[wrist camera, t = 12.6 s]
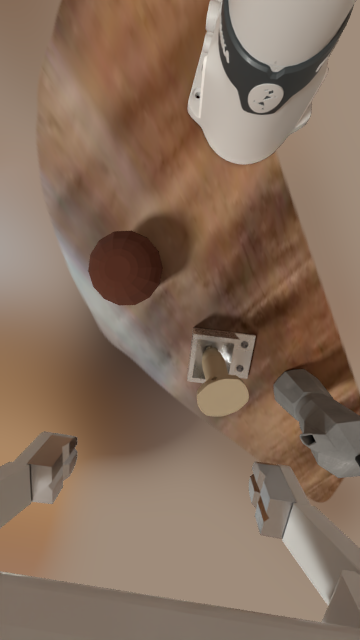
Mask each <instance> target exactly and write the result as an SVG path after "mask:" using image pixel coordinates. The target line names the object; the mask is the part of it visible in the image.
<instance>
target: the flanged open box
mask: <svg viewBox="0 0 360 640" xmlns="http://www.w3.org/2000/svg"><path fill="white" fill-rule="evenodd" d="M255 338H256V336H255V335H253V334H245V333H237V332H229V331H221V330H212V329H204V328H196V327H193V333H192V341H191V348H190V356H189V363H188V376H187V381H191V382H199V383H204V382H206V379H205V375H204V372H203V368H202V357H203V356H202V354H203V352H204V351H205V350H206V348H207V347H209V346H210V347H212V348H214V347H216V348H217V349H218V351H219V352H220V353H221V354H222V356H223V358H224V360H225V363H226V366H227V370H228V374H229V375H236V376H238V377H239V378H246V379H247V377H248V372H249V367H250V362H251V357H252V352H253V347H254V343H255Z"/></svg>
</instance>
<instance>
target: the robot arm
mask: <svg viewBox="0 0 360 640" xmlns="http://www.w3.org/2000/svg"><path fill="white" fill-rule="evenodd" d="M355 2H356V0H210V3H209V8H208V13H207V20H206V30H207V33H206V35H205V39H204V45H203V48H202V52H201V56H200V60H199V63H198V67H197V71H196V74H195V78H194V82H193V86H192V89H191V93H190V97H189V101H188V112H189V114H190V116H191V117H192V118H193V119H194V120H195V121H196V122H197V123H198V124H199V125H200V126H201V128H202V130H203V132H204V134H205V137H206V139H207V141H208V143H209V145H210V146H211V147H212V149H213V150H214V151H215V152H216V153H217V154H218V155H219V156H220V157H222V158H223V159H225V160H227V161H229V162H232V163H236V164H252V163H256V162H259V161H261V160H263V159H265V158H267V157H268V156H270V155H271V154H273V153H274V152H275V151H276V150H277V149H278V148H279V147H280V146H281V144H282V143H283V142H284V141H285V139H286V138H287V137H288V136H289V135H290V134H292V133H294V132H296V131H297V130H299V129H300V128H302V127H303V126H304V125H305V124H306V123H307V122H308V120H309V118H310V116H311V110H312V109H311V108H312V100H313V98H314V96H315V94H316V93H317V91H318V89H319V88H320V86H321V84H322V83H323V81H324V79H325V77H326V75H327V73H328V70H329V68H328V67H327V64H328V57H329V56H330V54H331V52H332V51H333V49H334V48H335V46H336V44H337V42H338V40H339V38H340V36H341V34H342V32H343V30H344V28H345V26H346V24H347V22H348V20H349V18H350V15H351V12H352V9H353V6H354V3H355ZM196 96H200V98H199V99H197V98H196ZM76 445H77V437H75V436H69V435H63V434H58V433H50V432H42V433H41V434H40V435H39V436H38V437H37V438H36V439H35V440H34V441H33V442H32V443H31V444H30V445H29V446H28V447H27V448H26V449H25V450H24V451H23V453H21V454H20V455H19V456H18V458H17V459H16V460H15V461H14V462H8V463H6V464H4V465H2V466H0V528H1V527H2V526H4V525H5V524H6V523H7V522H8V521H10V520H11V519H12V518H13V517H15V516H16V515H17V514H18V513H19V512H21V511H22V510H23V509H25V508H26V507H27V506H28V505H30V504H31V502H39V503H48V504H53V502H54V501H55V499H56V497H57V496H58V494H59V493H60V491H61V489H62V488H63V481H64V480H65V479H66V478H68V477H69V476H70V474H71V473H72V471H73V469H74V466H75V464H76V460H77V451H76V449H75V447H76ZM252 470H253V473H254V474H253V475H251V476H250V480H249V494H250V498H251V503H252V504H253V505H254V507H255V508H256V513H255V517H256V521H257V525H258V528H259V532H260V535H263V536H268V537H273V538H279V539H282V541H283V542H284V544H285V545H286V547H287V548H288V550H289V551H290V552H291V554H292V555H293V556H294V558H295V559H296V561H297V562H298V564H299V565H300V567H301V568H302V569H303V571H304V572H305V574H306V575H307V576H308V578H309V579H310V581H311V582H312V584H313V585H314V586H315V588H316V589H317V591H318V592H319V593H320V595H321V596H322V598H323V599H324V601H325V602H326V603H327V605H328V608H327V610H326V613H325V615H324V618H323V620H322V622H315V621H309V620H303V619H296V618H290V617H284V616H278V615H271V614H265V613H258V612H253V611H246V610H240V609H234V608H227V607H221V606H215V605H208V604H202V603H196V602H190V601H184V600H177V599H171V598H165V597H159V596H152V595H146V594H140V593H133V592H127V591H120V590H114V589H108V588H101V587H95V586H89V585H83V584H76V583H70V582H64V581H57V580H51V579H45V578H38V577H32V576H26V575H19V574H13V573H7V572H1V571H0V640H360V548H359V547H358V546H357V545H356V544H355V543H354V542H353V541H352V540H351V539H349V538H348V537H347V536H346V535H345V534H344V533H343V532H342V531H341V530H340V529H339V528H338V527H337V526H335V525H334V524H333V523H332V522H331V521H330V520H329V519H328V518H327V517H326V516H325V515H324V514H323V513H322V512H321V511H319V510H318V509H317V508H316V507H315V506H311V504H310V503H309V501H308V499H307V497H306V495H305V493H304V491H303V489H302V488H301V486H300V484H299V482H298V480H297V478H296V476H295V474H294V472H293V471H292V469H291V468H290V467H289V466H286V465H278V464H277V465H276V464H270V463H262V462H254V463H253V467H252Z"/></svg>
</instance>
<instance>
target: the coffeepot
mask: <svg viewBox="0 0 360 640" xmlns="http://www.w3.org/2000/svg"><path fill="white" fill-rule="evenodd" d="M274 395H275V400H276V401H277V402H278V403H279V404H280V405H281V406H282V407H283V408H284V409H285V410H286V411H287V412H288V413H289V414H290V415H292V416H293V417H294V418H295V419H296V420H297V421H299V424H300V429H301V431H302V433H303V434H300V439H301V441H302V442H303V444H304V445H306V446H307V447H309V448H310V449H311V451H312V453H313V455H314V457H315V459H316V461H317V463H318V465H320V466H321V467H323V468H324V469H326V470H327V471H329V472H330V473H332V474H333V475H335V476H336V477H338V478H343V477H353V476H360V416H359V415H357V414H356V413H354V412H353V411H351V410H350V409H348V408H346V407H345V406H343V405H342V404H340V403H338V402H337V401H335V400H334V399H333V397H332V396H331V395H330V394H329V392H328V391H327V390H326V389H325V387H324V386H323V385H322V383H321V382H320V381H319V380H318V378H316V377H315V376H313V375H312V374H310V373H309V372H307V371H306V370H305V369H296V370H290V371H286V372H284V373H283V374H282V375H281V376H280V377H279V378H278V379H277V381H276V383H275V384H274Z"/></svg>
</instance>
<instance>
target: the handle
mask: <svg viewBox="0 0 360 640" xmlns="http://www.w3.org/2000/svg"><path fill="white" fill-rule="evenodd" d="M202 356H203V357H202V368H203V372H204V375H205V379H206V382H204V383H203V384H202V385H201V387H200V388H199V389H198V390H197V403H198V406H199V408H200V410H201V411H202V412H203V413H204V414H205V415H207V416H225V415H228V414H231V413H233V412H236V411H237V410H239V409H240V408H241V407H242V406H243V405H244V404H245V403H246V402H248V397H249V395H248V390H247V388H246V386H245V384H244V382H243V381H242V380H241V379H240V378H239V377H238V376H236V375H229V374H228V370H227V366H226V363H225V360H224V358H223V356H222V354H221V353H220V352H219V351H218V349H217V348H216V347H214V348H212V347H210V346H209V347H207V348H206V350H205V351H204V352H203V354H202Z"/></svg>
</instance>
